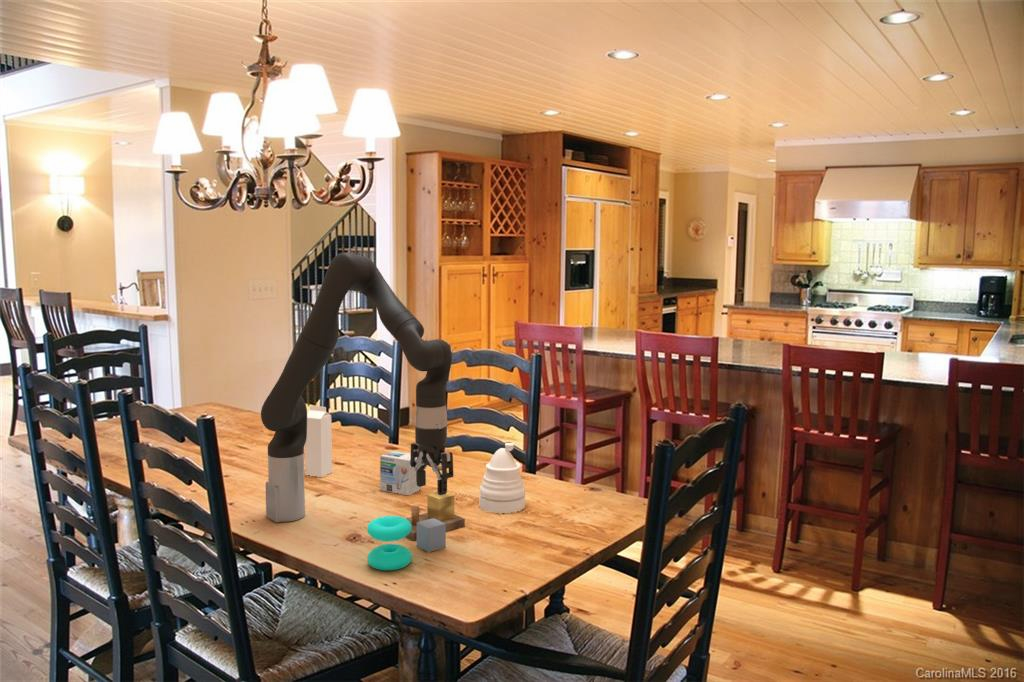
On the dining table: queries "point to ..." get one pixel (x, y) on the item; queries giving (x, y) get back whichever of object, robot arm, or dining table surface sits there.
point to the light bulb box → (397, 473)
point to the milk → (318, 442)
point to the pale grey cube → (431, 535)
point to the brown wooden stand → (436, 513)
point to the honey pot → (502, 484)
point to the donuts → (389, 553)
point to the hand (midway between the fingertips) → (431, 490)
